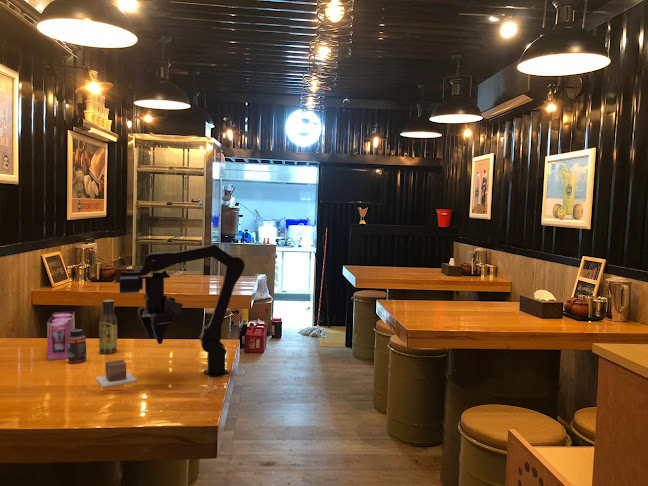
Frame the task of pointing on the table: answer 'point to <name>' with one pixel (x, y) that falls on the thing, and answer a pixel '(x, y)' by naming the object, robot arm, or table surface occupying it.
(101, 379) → the stone coaster
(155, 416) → the table surface
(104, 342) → the sauce bottle
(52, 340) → the gum box
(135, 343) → the table surface
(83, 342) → the supplement bottle
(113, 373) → the walnut cube
